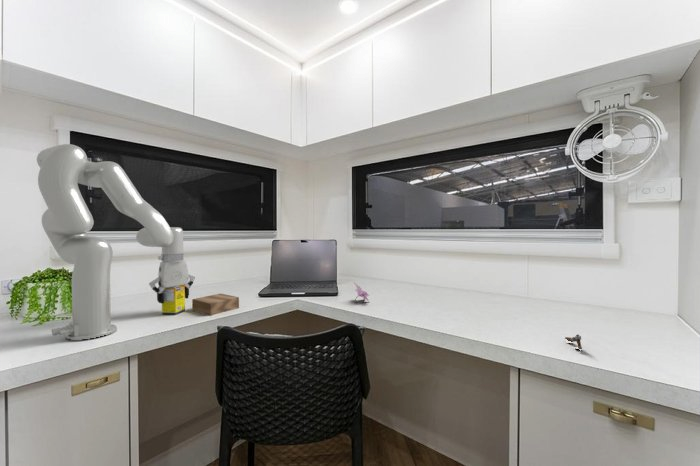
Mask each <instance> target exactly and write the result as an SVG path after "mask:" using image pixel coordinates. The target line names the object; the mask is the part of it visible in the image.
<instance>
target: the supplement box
mask: <svg viewBox="0 0 700 466" xmlns="http://www.w3.org/2000/svg"><path fill="white" fill-rule="evenodd" d="M162 293H163V294H164V303H161V314H162V315H175V316H176V315H178V314H180V313H181V314H182V313H183V312H185V311H186V298H185V285H182V286H176V287H170V288H165V289H164V290H163V292H162Z"/></svg>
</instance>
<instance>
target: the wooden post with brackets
mask: <svg viewBox="0 0 700 466" xmlns="http://www.w3.org/2000/svg"><path fill="white" fill-rule="evenodd" d="M565 339H567V340H568V341H571V342H573V343H575V342H576V344H577V346H578V348H579V349H582V350H583V348H582V347H583V346H582V343H581V340H582V336H581V335H580V334H576V335H574V336H573V337H566V336H564V340H565Z"/></svg>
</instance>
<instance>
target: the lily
mask: <svg viewBox="0 0 700 466" xmlns="http://www.w3.org/2000/svg"><path fill="white" fill-rule="evenodd" d="M353 284H354V285H355V286H356V289H355V290H354V291H355V292H356V293H357V296H356V298H355V299H354V300H353V303H356V300H357V298H358V297H362V299H363V300H367V301H368V303H371V302H370V301H369V298H368V297H370V294H369V293H368V292H367V291H365V290H363V289H362V287H361V286H360V285H358V284H357V283H356V282H355V281H353Z"/></svg>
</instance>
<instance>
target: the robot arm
mask: <svg viewBox="0 0 700 466" xmlns="http://www.w3.org/2000/svg"><path fill="white" fill-rule="evenodd" d="M36 163H37V165H38V167H39V168H40V169H39V171H38V175H37V185H38V189H39V192H40V193H41V196H42V199H43V200H44V202H45V205H46V206H47V209H46V210H45V211H44V212H43V214H42V216H41V225H42V228H43V230H44V232H45V234H46V236H47V237H48V239H49V241H50V242H51V244H52V246H53V248H54V250H55V252H56V253H57V255H58V256H59V257H60V259H61V260H63V261H64V262H66V263H68V264H71V265H74V266H73V268H72V274H71V306H72V307H71V309H72V310H71V311H72V312H71V313H72V314H71V316H72V318H71V320H72V321H69V324H66V325H65V326H63V327H57V328H52V329H51V335H52V336H56V335H59V336H62V335H65V338H67V339H66V340H68V339H71V340H70V341H83V340H82V339H88V340H91V339H90V338H94V339H97V338H96V337H99V338H101V337H100V336H103V337H105V336H104V335H106V336H109V335H111V334H114V333H115V332H116V331H117V330H118V326H117V325H115V324H112V320H111V319H112V316H111V315H112V312H111V310H112V309H111V268H112V267H111V265H112V261H113V257H114V256H113V253H114V252H113V248H112V246H111V244H110V242H108V241H107V240H106V239H104V238H101V237H98V236H90V235H88V233H87V232H90V231H91V230H92V228H93V227H94V223H95V221H94V218H93V215H92V213H91V211H90V210H89V207H88V205H87V203H86V202H85V200H84V198H83V196H82V193H81V191H80V188H79V184H80V185H83V186H88V187H91V188H101V190H102V191H103V192H104V193H105V195H106V196H107V197H108V199H109V200H110V201H111V203H112V205H113V206H114V208H115V209H116V210H117V211H118V212H120V213H121V214H123V215H125V216H127V217H129V218H132V219H133V220H135V221H137V222H138V223H140V224H141V225H142V226H143V228H141V229H139V230H138V231H137V232H136V235H135V236H136V237H135V238H136V241H137V242H138V244H140V245H141V246H143V247H150V248H161V254H160V255H159V256H158V257H157V259H158V260H161V261H160V263H159V268H158V272H157V273H158V274H157V277H156V278H155V279H153V280H152V281H150V282H149V283H148V285H149V287H150V288H151V290H152V291H154V292H155V293H156V300H157V302H158V303H159V304H162V303H164V294H163V293H162V292H163V290H164V289H165V288H170V287H176V286H182V285H185V299H189V295H190V288H191V286H192V285H193V284H194V281H195V279H196V276H193V275H191V274H189V269H188V264H187V260H185V259H184V230H183V228H182V227H178V226H177V227H175V226H174V227H173V226H172V227H170V225H169V223H168V222H167V220H166V219H165V217H164V216H163V215H162V213H160V212H159V211H158V210H157V209H155V208H154V207H153V205H151V204H150V203H148V202H147V201H146V200H144V198H143V197H142V196H141V194H140V193H139V191H138V190H137V188H136V186H135V184H133V182H132V180H131V179H130V178H129V176H128V175H127V173H126V172H125V170H124V169H123V168H122V167H121V165H120V164H119V163H117V162H114V161H109V160H108V161H107V160H106V161H96V162H94V161H90V160H88V156H87V153H86V152H85V151H84V149H82V147H79V146H78V145H75V144H71V143H69V144H68V143H64V144H58V145H55V146H51V147H47V148H45V149H43V150H41V151H39V153H38V154H37V155H36ZM156 284H158V287H157V286H156ZM110 333H111V334H110ZM108 334H109V335H108Z"/></svg>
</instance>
